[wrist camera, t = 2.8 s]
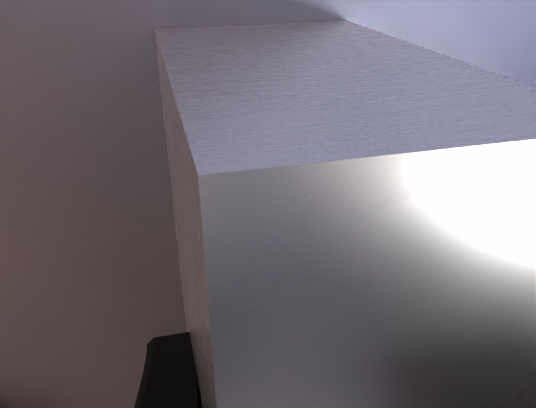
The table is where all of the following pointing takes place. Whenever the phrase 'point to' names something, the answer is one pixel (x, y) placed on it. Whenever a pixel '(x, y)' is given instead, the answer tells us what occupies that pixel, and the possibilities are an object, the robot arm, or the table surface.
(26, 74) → the table surface
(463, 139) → the pale grey rectangular prism
